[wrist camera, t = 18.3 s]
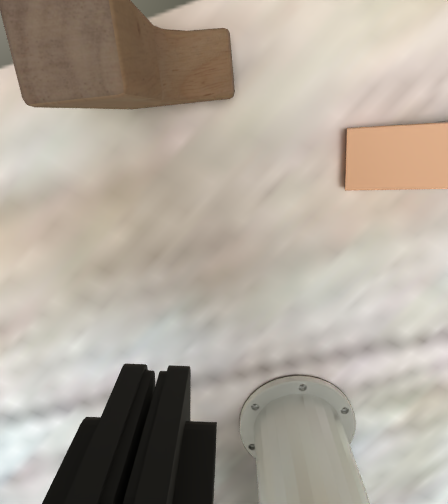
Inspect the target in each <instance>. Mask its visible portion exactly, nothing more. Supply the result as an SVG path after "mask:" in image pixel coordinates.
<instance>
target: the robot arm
mask: <svg viewBox="0 0 448 504" xmlns="http://www.w3.org/2000/svg"><path fill="white" fill-rule="evenodd" d="M190 378H191V371H190V366H168V370H167V371H160V373H159V376H158V379H157V383H156V387H155V372H154V371H148V369H147V365H144V364H124V365H123V367H122V369H121V372H120V374H119V376H118V379H117V381H116V383H115V386H114V388H113V390H112V393H111V395H110V397H109V400H108V402H107V404H106V407H105V409H104V411H103V414H102V416H101V418H100V417H86V418H85V419H84V420H83V421H82V423H81V425H80V427H79V429H78V431H77V433H76V435H75V437H74V439H73V441H72V443H71V445H70V447H69V449H68V451H67V453H66V455H65V457H64V460H63V462H62V464H61V466H60V468H59V470H58V472H57V474H56V476H55V478H54V480H53V482H52V484H51V486H50V488H49V490H48V492H47V495H46V497H45V499H44V501H43V503H42V504H213V498H214V478H215V455H216V427H217V422H194V421H190ZM355 427H356V421H355V415H354V412H353V409H352V407H351V404H350V402H349V401H348V399H347V397H346V396H345V395H344V394H343V393H342V392H341V391H340V390H339V389H338V388H336V387H335V386H334V385H332V384H331V383H328V382H326V381H324V380H322V379H318V378H314V377H309V376H289V377H284V378H280V379H276V380H274V381H271V382H269V383H267V384H265V385H263V386H262V387H260V388H259V389H257V390H256V391H255V392H254V393H253V394H252V395H251V396H250V397H249V399H248V400H247V401H246V403H245V404H244V407H243V409H242V411H241V415H240V435H241V440H242V442H243V444H244V446H245V448H246V449H247V451H248V452H249V453H250V455H252V456H253V457H254V458H255V459H256V466H257V481H258V495H259V504H370V502H369V499H368V496H367V493H366V490H365V487H364V484H363V482H362V479H361V476H360V473H359V470H358V467H357V465H356V462H355V459H354V456H353V453H352V450H351V447H350V443H351V442H352V440H353V437H354V433H355Z"/></svg>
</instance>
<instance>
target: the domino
mask: <svg viewBox="0 0 448 504" xmlns="http://www.w3.org/2000/svg"><path fill="white" fill-rule="evenodd" d="M397 189H448V122H444V123H427V124H410V125H393V126H376V127H359V128H347V143H346V174H345V190H397Z"/></svg>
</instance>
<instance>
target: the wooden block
mask: <svg viewBox="0 0 448 504" xmlns="http://www.w3.org/2000/svg"><path fill="white" fill-rule="evenodd" d="M0 11H1V15H2V19H3V23H4V27H5V31H6V35H7V39H8V42H9V47H10V50H11V54H12V58H13V63H14V67H15V71H16V75H17V78H18V82H19V86H20V90H21V94H22V98H23V100H24V101H25V103H26V104H27V105H29V106H32V107H49V108H100V109H138V108H147V107H157V106H166V105H175V104H185V103H194V102H203V101H213V100H222V99H230V98H232V97H233V96H234V91H235V90H234V78H233V67H232V55H231V43H230V33H229V31H228V29H225V28H218V29H205V30H193V31H181V30H166V29H161V28H159V27H156V26H153V25H152V23H151V22H150V21H149V20H148V19H147V18H146V17H145V16H144V15H143V14H142V13H141V12H140V10H139V9H137V7H136V6H135V5H134V4H133V3H132V2H131V1H130V0H0Z"/></svg>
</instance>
